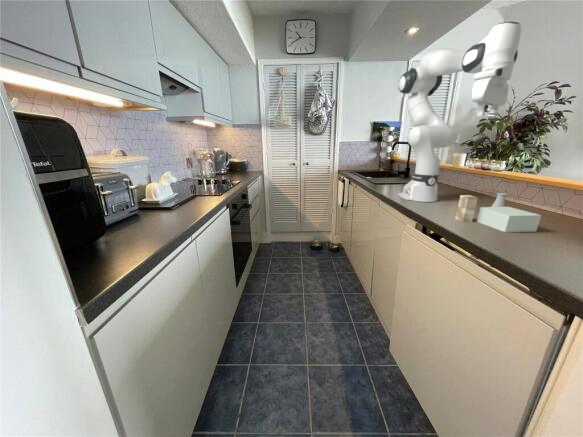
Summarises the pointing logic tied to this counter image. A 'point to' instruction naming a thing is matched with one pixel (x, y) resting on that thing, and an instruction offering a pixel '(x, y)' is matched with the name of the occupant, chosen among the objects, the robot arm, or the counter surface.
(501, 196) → the flask
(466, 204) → the birch block
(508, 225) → the sage step
